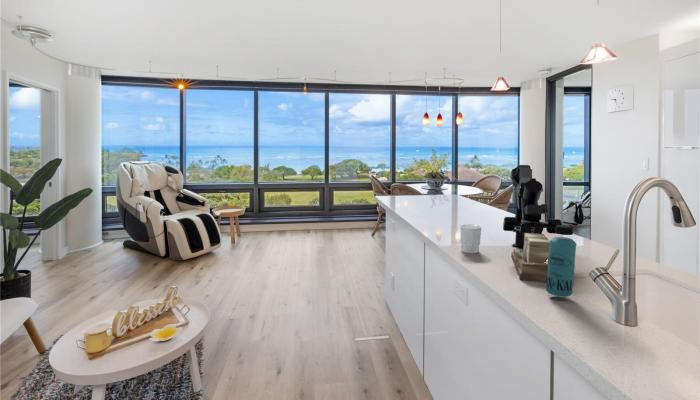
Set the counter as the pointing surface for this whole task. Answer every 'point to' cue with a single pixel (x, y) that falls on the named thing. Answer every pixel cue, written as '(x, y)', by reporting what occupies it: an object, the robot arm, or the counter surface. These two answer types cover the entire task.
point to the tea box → (535, 248)
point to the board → (527, 276)
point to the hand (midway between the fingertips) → (533, 245)
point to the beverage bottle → (561, 263)
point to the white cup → (470, 238)
